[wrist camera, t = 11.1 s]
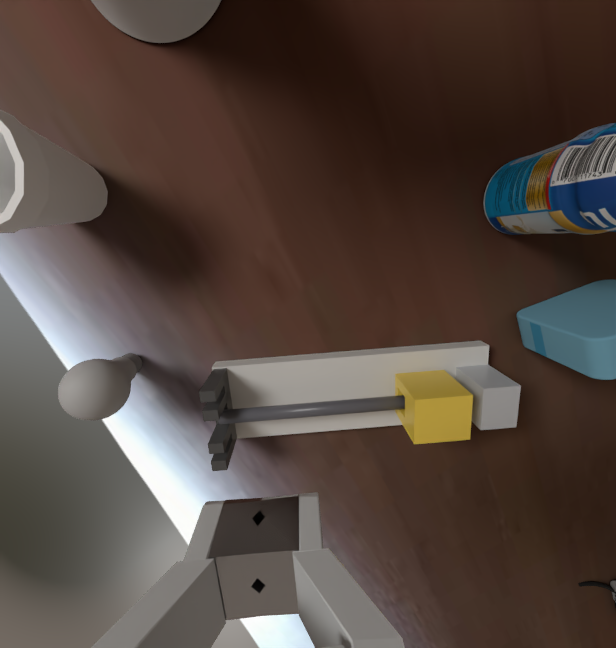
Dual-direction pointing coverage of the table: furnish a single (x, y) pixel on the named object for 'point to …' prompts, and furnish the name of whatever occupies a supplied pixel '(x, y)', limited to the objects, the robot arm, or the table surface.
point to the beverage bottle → (558, 188)
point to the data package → (575, 329)
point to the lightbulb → (98, 386)
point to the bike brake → (614, 586)
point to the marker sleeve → (434, 407)
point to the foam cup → (43, 181)
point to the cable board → (342, 392)
